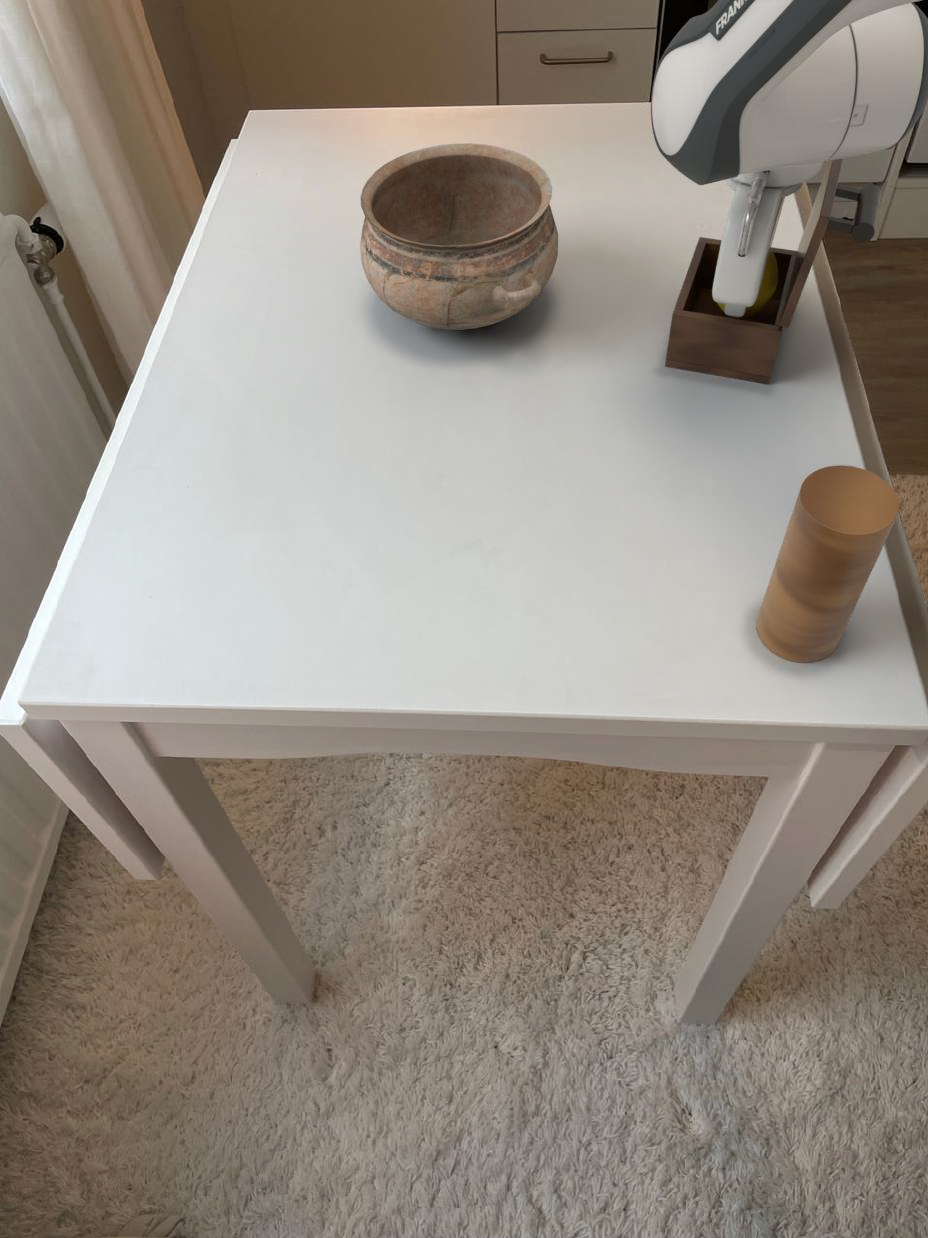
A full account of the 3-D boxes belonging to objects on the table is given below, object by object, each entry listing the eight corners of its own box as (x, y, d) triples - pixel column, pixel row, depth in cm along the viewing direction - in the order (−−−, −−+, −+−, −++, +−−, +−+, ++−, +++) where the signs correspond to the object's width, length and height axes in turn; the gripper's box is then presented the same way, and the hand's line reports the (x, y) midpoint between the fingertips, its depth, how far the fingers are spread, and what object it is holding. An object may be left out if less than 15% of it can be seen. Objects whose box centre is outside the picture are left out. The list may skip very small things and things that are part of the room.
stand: (843, 608, 72) (903, 475, 61) (834, 671, 69) (895, 543, 57) (762, 590, 73) (806, 457, 62) (750, 651, 70) (793, 522, 59)
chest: (664, 366, 90) (672, 313, 85) (691, 288, 97) (699, 236, 92) (768, 384, 87) (782, 331, 83) (787, 303, 94) (801, 250, 90)
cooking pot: (325, 278, 101) (304, 165, 91) (478, 220, 106) (473, 108, 96) (444, 411, 87) (434, 295, 78) (612, 337, 92) (622, 220, 83)
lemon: (772, 304, 91) (790, 228, 84) (762, 340, 88) (780, 264, 81) (714, 295, 92) (728, 219, 86) (702, 330, 89) (715, 254, 83)
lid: (819, 215, 74) (882, 229, 73) (838, 136, 81) (895, 147, 80) (778, 326, 82) (834, 339, 82) (798, 245, 89) (850, 257, 89)
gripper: (793, 212, 70) (758, 365, 81) (827, 86, 82) (791, 235, 93) (707, 201, 72) (684, 353, 83) (752, 79, 83) (726, 226, 94)
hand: (741, 290), depth 88 cm, fingers closed on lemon, 5 cm apart
